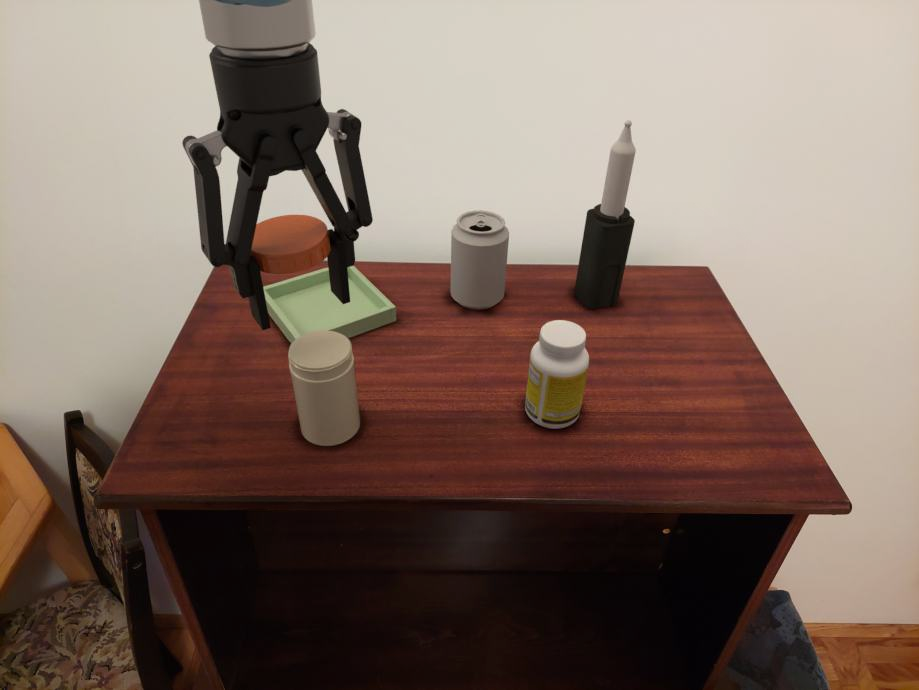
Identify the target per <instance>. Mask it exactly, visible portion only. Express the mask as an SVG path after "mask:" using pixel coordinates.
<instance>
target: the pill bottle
mask: <svg viewBox="0 0 919 690" xmlns="http://www.w3.org/2000/svg"><path fill="white" fill-rule="evenodd" d="M586 340H587V333H586V331H585V329H584V328H583V327H582V326H581V325H579V324H577V323H575V322H573V321H570V320H565V319H556V320H551V321H547V322H545V324H543V326H541V328H540V332H539V338H538V341H537V342H536V343H535V344H534V345H532V348H531V350H530V353H529V354H530V355H529V364H528V373H527V381H526V383H527V384H526V392H525V400H524V401H525V402H524V408H525V409H524V410H525V412H526V414H527V416H528V418H529V419H531V421H532V422H534V423H535V424H537V425H538V426H540V427H543V428H546V429H552V430H558V429H564V428H567V427H570V426H571V425H574V423H575V422H576V421H577V420H578V419H579V417H580V414H581V409H582V404H583V398H584V393H585V387H586V383H587V378H588V377H587V376H588V371H589V366H590V356H589V352H588V350H587V349H586Z"/></svg>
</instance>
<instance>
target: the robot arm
mask: <svg viewBox="0 0 919 690" xmlns="http://www.w3.org/2000/svg"><path fill="white" fill-rule="evenodd" d="M198 3H199V9H200V13H201V19H202V25H203V31H204V37H205V39H206V40H207V41H208V42H209V43H210V44H212V45H213V47H212V48H211V51H210V53H209V55H208V57H209V62H210V66H211V71H212V76H213V83H214V88H215V91H216V97H217V102H218V107H219V112H220V113H219V118H218V122H217V124H216V130H214V131H212V132H210V133H207V134H205V135H203V136H200V137H196V136H194V135H187V136H185V137H184V138H183V139H182V147H183V149H184V152H185V154H186V155H187V157H188V159H189V161H190V163H191V165H192V168H193V177H194V178H193V179H194V190H195V199H196V208H197V217H198V229H199V238H200V239H199V241H200V249H201V252H202V253H203V254H204V256H205V258H206V259H207V260H208V262H209V263H210V265H212V266H213V267H215V268H220V267H222V266H229V271H230V274H231V279H232V283H233V287H234V289H235V290H236V292H237V293H238V294H239V296H240V297H241V298H242V299H247V298H248V302H249V306H250V311H251V316H252V318H253V319H254V320H255V322H256V323H257V325H258V326H259V328H260V329H261V330H262V331H265V330H268V329H271V328H272V327H271V322H270V315H269V314H268V310H267V305H266V299H265V294H264V289H263V287H264V284H263V278H262V274H261V273H262V272H261V271H260V268H259V264H258V263H257V262H256V261H255V259H254V258H253V257H252V256H250V253H251V248H252V244H253V239H254V234H255V229H256V224H258V219H259V214H260V211H261V210H260V209H261V205H262V199H263V195H264V191H266V190H267V189H268V185H269V181H270V177H273V176H277V175H280V174H281V173H283V172H286V171H288V172H289V171H290V172H298V171H301V172H302V174H303V175H304V177H305V179H306V181H307V182H308V184H309V186H310V188H311V190H312V192H313V193H314V195H315V198H316V199H317V200H318V202H319V204H320V206H321V208H322V210H323V212H324V213H325V216H326V217H327V219H328V221H329V223H330V225H331V226H332V227H333V228H330V229H328V231H329V241H330V247H331V251H330V252H329V255H328V256H327V257H326V259H327V267H328V269H329V278H330V287H331V291H332V293H333V294H334V295H335V296H336V297H337V298H338V299H339V300H340V301H341V302H342V304H346V303H349V302H350V292H349V281H348V271H347V267H350V266H355V263H356V252H355V242H356V241H357V240H358V239H359V237H360V232H359V231H358V230H359V229H361V228H367V227H369V226H371V225H372V224H373V220H374V219H373V213H372V208H371V201H370V197H369V192H368V187H367V186H368V185H367V182H366V177H365V170H364V167H363V161H362V156H361V150H360V140H361V132H362V121H361V119H360V118H359V117H357V116H355V115H354V114H352V113H351V112H349V111H348V110H347V109H344V108H339V110H337V111H336V112H332V111H331V112H330V111H327V110H326V108H325V107H324V105H323V102H322V86H321V76H320V66H319V56H318V50H317V49H316V48H315V47H314V45H313V44H312V43H311V42H312V40H313V39H314V38H315V37H316V35H317V34H316V33H317V32H316V25H315V24H316V23H315V16H314V6H313V0H198ZM327 130H328V135H329V136H330V138H332V140H333V147H334V151H335V156H336V160H337V165H338V169H339V174H340V179H341V183H342V188H343V193H344V197H345V201H346V207H347V211H346V209H345V207H344V205H343V204H342V203H343V202H342V201H341V198H339V196H338V193H337V191H336V190H335V188H334V185H333V184H332V182H331V180H330V178H329V176H328V174H327V173H326V171H327V170H326V168H325V166H324V164H323V162H322V160H321V158H320V156H319V154H318V152H317V150H318V148H319V145H320V143H321V141H322V139H323V138H324V137H325V134H326V133H327ZM226 147H227V148H228V149H229V150H230V151H231V152H233V153H234V154H235V155H236V156H237V157H238V163H237V167H236V176H237V182H236V186H235V192H234V198H233V203H232V208H231V213H230V217H229V218H230V219H229V225H228V229H227V234H226V240H225V234H224V220H223V209H222V207H223V205H222V194H221V182H220V176H219V172H218V169H217V167H219V166H220V165H221V163H222V159H223V157H222V151H223V150H224V149H225V148H226Z"/></svg>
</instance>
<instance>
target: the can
mask: <svg viewBox="0 0 919 690" xmlns="http://www.w3.org/2000/svg"><path fill="white" fill-rule="evenodd" d="M450 234H451V236H450V239H451V240H450V242H451V243H450V244H451V245H450V287H449V288H450V292H449V293H450V296H451V298H452V299H453V300H454V301H455V302H457V303H458V304H459V305H460V306H462V307H464V308H466V309H469V310H477V311H478V310H479V311H481V310H487V309H490V308H493V307H494V306H496V305H498V303H500V302H501V301H502V300H503V299H504V296H505V291H506V290H505V289H506V277H507V267H508V253H509V241H510V231H509V228H508V227H507V226H506V221H505V219H504V217H502V216H501V215H500V214H498V213H496V212H493V211H488V210H482V209H481V210H480V209H479V210H470V211H466V212H463V213H462V214H460V215H459V216H458V217H457V219H456V223H455V224H454V225H453V226H452V229H451V233H450Z"/></svg>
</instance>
